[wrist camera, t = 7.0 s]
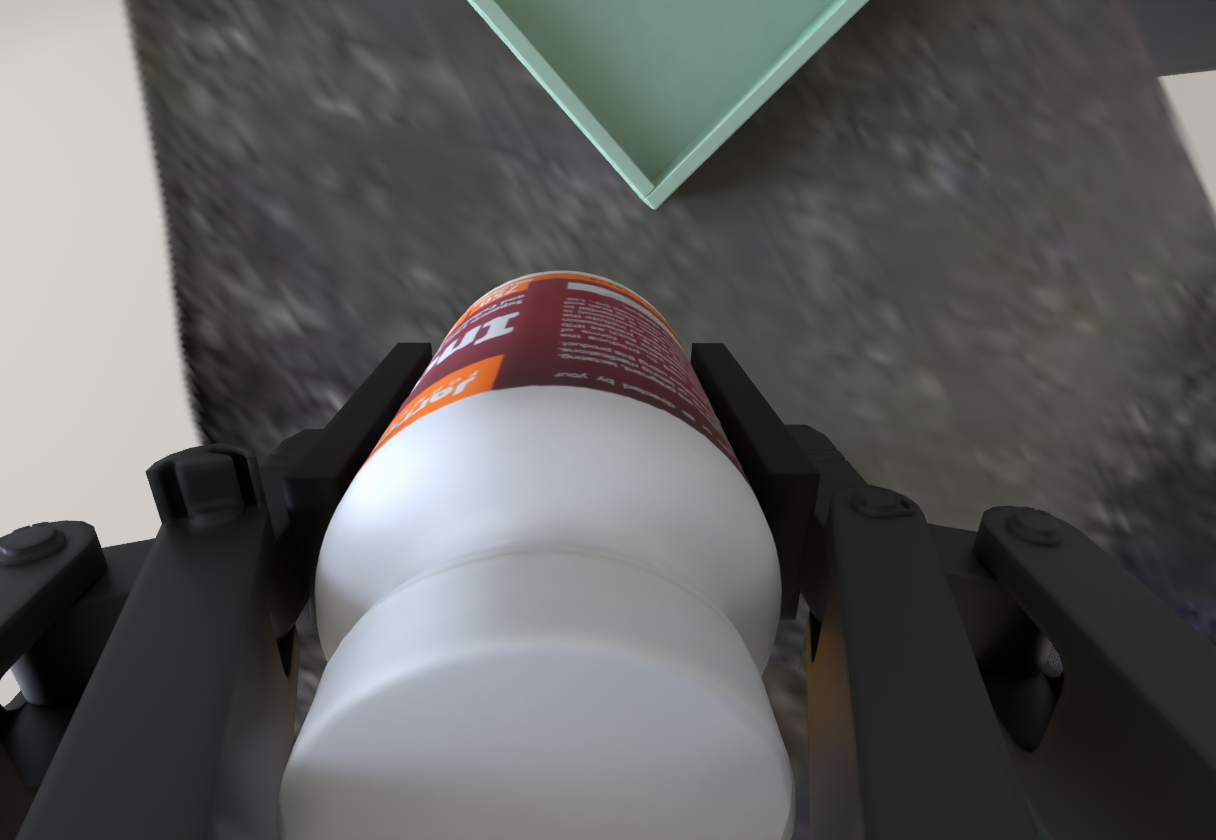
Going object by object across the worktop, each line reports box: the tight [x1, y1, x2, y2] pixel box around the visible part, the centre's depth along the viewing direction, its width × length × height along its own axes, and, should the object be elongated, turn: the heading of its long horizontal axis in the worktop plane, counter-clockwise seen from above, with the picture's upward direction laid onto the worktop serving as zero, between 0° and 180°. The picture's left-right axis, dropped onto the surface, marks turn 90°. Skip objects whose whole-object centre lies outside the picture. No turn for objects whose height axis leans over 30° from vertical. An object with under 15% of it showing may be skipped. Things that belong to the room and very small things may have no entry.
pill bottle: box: [276, 271, 796, 840], centre depth 11 cm, size 6×6×11 cm
